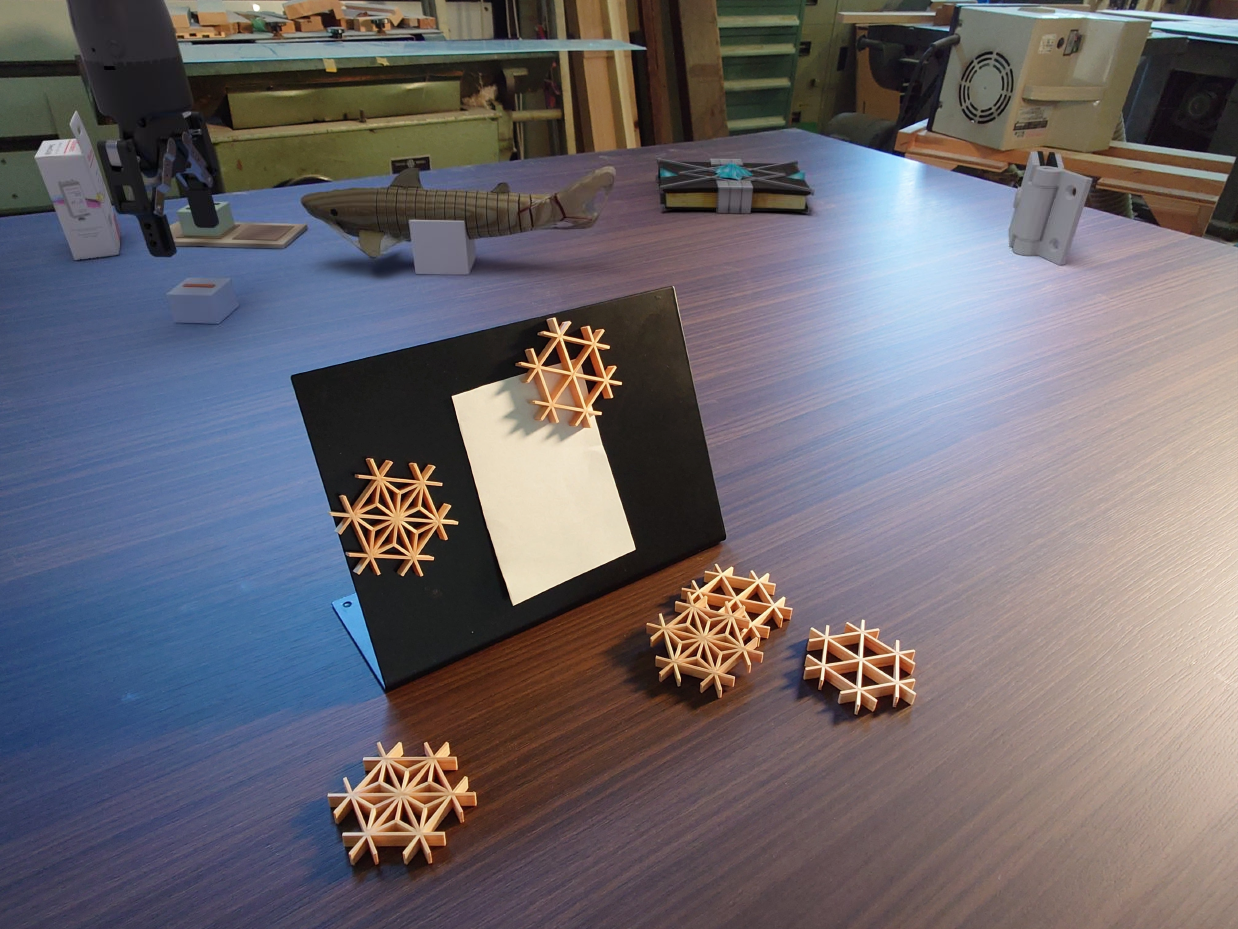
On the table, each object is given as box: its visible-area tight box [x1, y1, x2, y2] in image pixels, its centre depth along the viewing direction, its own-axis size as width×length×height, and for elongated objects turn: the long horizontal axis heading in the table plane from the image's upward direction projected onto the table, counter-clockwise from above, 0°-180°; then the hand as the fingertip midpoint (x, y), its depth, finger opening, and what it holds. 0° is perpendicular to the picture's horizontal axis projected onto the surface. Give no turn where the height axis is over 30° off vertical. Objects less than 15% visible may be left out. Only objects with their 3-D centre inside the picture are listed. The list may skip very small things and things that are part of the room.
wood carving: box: [300, 165, 617, 276], centre depth 91 cm, size 9×35×11 cm, turn 91°
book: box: [655, 157, 816, 215], centre depth 118 cm, size 22×17×5 cm
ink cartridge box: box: [34, 110, 122, 261], centre depth 94 cm, size 9×5×15 cm, turn 26°
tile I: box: [165, 277, 239, 325], centre depth 81 cm, size 4×4×3 cm
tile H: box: [176, 201, 235, 237], centre depth 100 cm, size 4×4×3 cm
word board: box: [169, 220, 309, 250], centre depth 101 cm, size 17×8×1 cm, turn 88°
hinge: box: [1008, 150, 1094, 266], centre depth 100 cm, size 14×5×10 cm, turn 171°
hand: (187, 240), depth 77 cm, fingers open, 8 cm apart
